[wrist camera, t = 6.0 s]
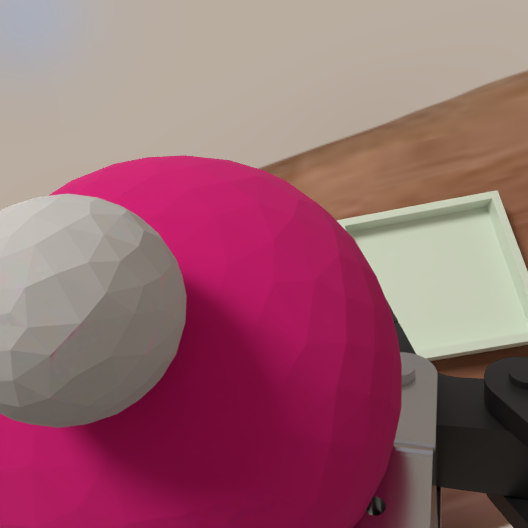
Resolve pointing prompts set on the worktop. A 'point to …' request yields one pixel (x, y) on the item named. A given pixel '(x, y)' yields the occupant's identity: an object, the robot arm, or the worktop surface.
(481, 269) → the tray
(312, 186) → the worktop surface
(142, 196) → the pepper mill
